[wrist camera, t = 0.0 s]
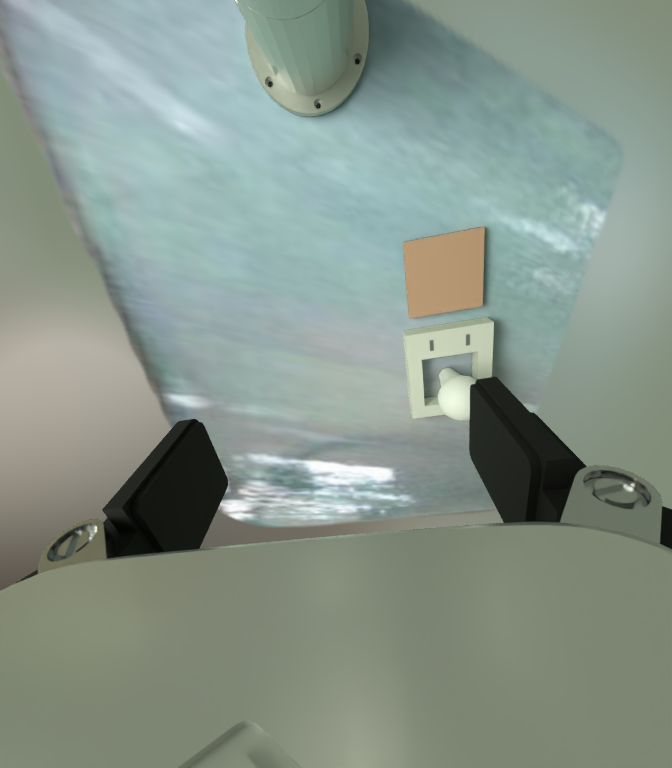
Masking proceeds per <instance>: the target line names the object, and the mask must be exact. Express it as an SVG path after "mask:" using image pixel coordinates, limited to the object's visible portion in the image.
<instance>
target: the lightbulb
mask: <svg viewBox="0 0 672 768" xmlns="http://www.w3.org/2000/svg"><path fill="white" fill-rule="evenodd" d="M439 379H440V384H441V388H440V390H439V393H438V402H439V406H440V408H441V410H442V411H443V412H444V413H445V414H446V415H447V416H448V417H450V418H452V419H454V420H460V421H466V420H470V386H471V384H475V382H476V379H474V378H472V377H470V376H463V375H460V374H458V373H457V372H455V371H454V370H453V369H452V368H445V369H443V370H442V371H441V372H440V374H439Z"/></svg>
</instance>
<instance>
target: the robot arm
mask: <svg viewBox="0 0 672 768" xmlns="http://www.w3.org/2000/svg"><path fill="white" fill-rule="evenodd" d="M234 1H235V3H236V5H237V7H238V8H239V10H240V12H241V14H242V16H243V18H244V20H245V35H246V42H247V49H248V54H249V57H250V60H251V64H252V67H253V69H254V71H255V73H256V76H257V78H258V80H259V82H260V83H261V85H262V86H263V88H264V89H265V91H266V92H267V93H268V94H269V96H270V97H271V98H272V99H273V100H274V101H275V102H276V103H277V104H278V105H279V106H281V107H282V108H284V109H285V110H287V111H289V112H291V113H293V114H297V115H300V116H309V117H313V116H319V115H323V114H326V113H328V112H330V111H332V110H334V109H335V108H337V107H338V106H339V105H341V104H342V103H343V102H344V101H345V100H346V99H347V98H348V96H349V95H350V94H351V93H352V91H353V89H354V88H355V86H356V85H357V83H358V81H359V78H360V76H361V74H362V71H363V69H364V65H365V61H366V57H367V50H368V43H369V20H368V10H367V6H366V2H365V0H234ZM356 60H359V61H360V63H359V64H358V65H356V64H355V61H356ZM270 82H271V83H273V86H272V87H269V83H270ZM317 104H320V105H321V107H320V108H319V109H318V108H317V107H316V106H317ZM469 450H470V456H471V459H472V461H473V463H474V465H475V467H476V469H477V471H478V473H479V475H480V477H481V479H482V481H483V483H484V485H485V487H486V489H487V491H488V493H489V494H490V496H491V498H492V500H493V502H494V504H495V506H496V508H497V510H498V512H499V514H500V516H501V518H502V519H503V522H504V523H492V524H476V525H465V526H452V527H437V528H425V529H413V530H402V531H390V532H378V533H366V534H354V535H343V536H332V537H321V538H309V539H299V540H287V541H276V542H266V543H255V544H244V545H233V546H224V547H214V548H203V549H199V548H200V546H201V544H202V541H203V539H204V537H205V535H206V533H207V531H208V529H209V526H210V524H211V522H212V520H213V517H214V516H215V513H216V511H217V509H218V507H219V505H220V502H221V500H222V498H223V496H224V494H225V492H226V489H227V486H228V479H227V476H226V474H225V472H224V469H223V467H222V465H221V463H220V460H219V458H218V456H217V454H216V451H215V449H214V447H213V445H212V442H211V440H210V438H209V435H208V433H207V431H206V429H205V426H204V425H203V423H201V422H199V421H198V420H196V419H191V420H184V421H179V422H177V423H176V424H175V426H174V427H173V428H172V429H171V430H170V431H169V433H168V434H167V435H166V436H165V437H164V438H163V440H162V441H161V442H160V443H159V444H158V445H157V447H156V448H155V449H154V450H153V451H152V452H151V454H150V455H149V456H148V457H147V458H146V459H145V461H144V462H143V463H142V464H141V465H140V466H139V468H138V469H137V470H136V471H135V472H134V473H133V475H132V476H131V477H130V478H129V479H128V480H127V482H126V483H125V484H124V485H123V486H122V487H121V489H120V490H119V491H118V492H117V493H116V495H114V497H113V498H112V499H111V500H110V501H109V502H108V504H107V505H106V506H105V507H104V508H103V512H104V513H105V514H106V516H107V517H108V518H107V519H106V520H105V521H104V523H103V522H102V521H101V520H99V519H90V520H86V521H82V522H80V523H78V524H76V525H73V526H72V527H70V528H68V529H67V530H65V531H63V532H62V533H61V534H60V535H58V536H57V537H56V538H55V539H54V540H53V541H52V542H51V543H49V545H47V547H46V548H45V550H44V551H43V552H42V555H41V557H40V560H39V567H38V570H36V571H35V572H33V573H31V574H30V575H28V576H26V577H25V578H23V579H21V580H20V581H18V582H16V583H15V584H13V585H11V586H10V587H8V588H6V589H4V590H2V591H0V768H672V509H669V508H666V507H663V506H662V499H661V495H660V493H659V492H658V491H657V490H656V488H655V487H654V486H653V485H651V484H650V483H649V482H647V481H646V480H645V479H643V478H641V477H639V476H638V475H635V474H634V473H632V472H629V471H626V470H623V469H620V468H615V467H610V466H597V465H595V466H589V467H586V465H585V464H583V462H582V461H581V460H580V459H579V458H578V457H577V456H576V455H575V454H574V453H573V452H572V451H571V450H570V449H569V448H568V447H567V446H566V445H565V444H564V443H563V442H562V441H561V440H560V439H559V438H558V436H557V435H555V433H553V431H552V430H551V429H550V428H549V427H548V426H547V425H546V424H545V423H544V422H543V421H542V420H541V419H540V418H539V417H538V416H537V415H536V414H534V413H531V412H529V411H528V410H527V409H526V408H525V407H524V406H523V404H522V403H521V402H520V401H519V400H518V399H517V398H516V397H515V396H514V395H513V394H512V393H511V392H510V391H509V390H508V389H507V388H506V387H505V386H504V384H503V383H502V382H501V381H500V380H499V379H498V378H497V377H490V378H483V379H477V380H476V382H475V384H471V386H470V441H469Z"/></svg>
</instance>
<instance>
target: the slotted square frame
mask: <svg viewBox="0 0 672 768" xmlns="http://www.w3.org/2000/svg"><path fill="white" fill-rule="evenodd" d="M493 335H494V322H493V321H492V320H490V319H489V318H488V317H485V318H478V319H472V320H466V321H460V322H454V323H447V324H441V325H435V326H429V327H423V328H416V329H410V330H404V331H403V337H404V348H405V359H406V370H407V381H408V392H409V403H410V412H411V415H412V418H413V419H414V418H422V417H429V416H437V415H445V413H444V412H443V411H442V410H441V408H440V406H439V402H438V396H436V397H429V398H424V388H423V372H422V360H424V359H431V358H437V357H444V356H451V355H457V354H464V353H470V352H472V378H474V379H476V380H477V379H483V378H490V377H492V360H493Z"/></svg>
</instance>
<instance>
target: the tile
mask: <svg viewBox="0 0 672 768" xmlns="http://www.w3.org/2000/svg"><path fill="white" fill-rule="evenodd" d="M484 234H485V227H478V228H473V229H468V230H463V231H457V232H452V233H447V234H442V235H437V236H432V237H426V238H421V239H416V240H411V241H406V242H403V253H404V265H405V278H406V290H407V302H408V315H409V318H414V317H420V316H427V315H433V314H439V313H445V312H451V311H457V310H463V309H469V308H475V307H481V306H483V274H484Z"/></svg>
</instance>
